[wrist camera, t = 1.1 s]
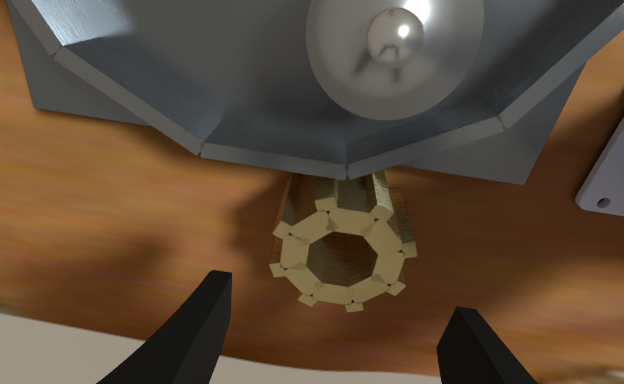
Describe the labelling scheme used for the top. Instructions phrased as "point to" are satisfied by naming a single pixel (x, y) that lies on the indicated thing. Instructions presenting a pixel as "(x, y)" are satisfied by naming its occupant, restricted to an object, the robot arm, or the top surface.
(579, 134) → the top surface
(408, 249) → the gear
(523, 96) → the carrier
